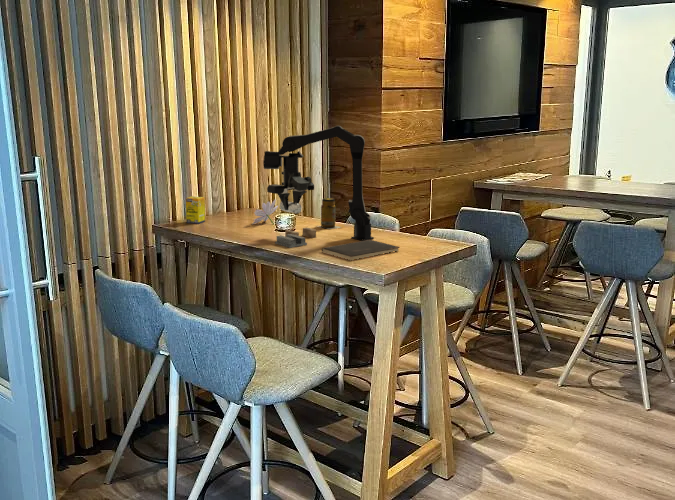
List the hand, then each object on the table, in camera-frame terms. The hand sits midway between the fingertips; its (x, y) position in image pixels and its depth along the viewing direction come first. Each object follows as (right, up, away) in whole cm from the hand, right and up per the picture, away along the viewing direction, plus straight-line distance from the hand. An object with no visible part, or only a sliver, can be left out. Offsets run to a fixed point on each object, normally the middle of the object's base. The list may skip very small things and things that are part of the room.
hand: (291, 209), depth 263 cm
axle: (0, -1, +1) cm, 1 cm away
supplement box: (-43, -4, +30) cm, 53 cm away
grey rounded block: (+4, -11, +1) cm, 12 cm away
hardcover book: (+26, -17, -21) cm, 38 cm away
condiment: (+14, -6, +23) cm, 28 cm away
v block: (+1, -14, -10) cm, 17 cm away
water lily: (-13, -4, +31) cm, 34 cm away
